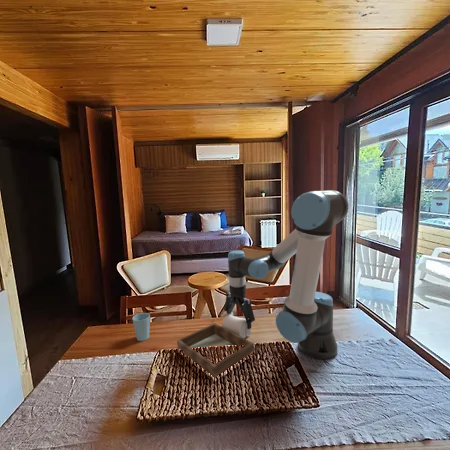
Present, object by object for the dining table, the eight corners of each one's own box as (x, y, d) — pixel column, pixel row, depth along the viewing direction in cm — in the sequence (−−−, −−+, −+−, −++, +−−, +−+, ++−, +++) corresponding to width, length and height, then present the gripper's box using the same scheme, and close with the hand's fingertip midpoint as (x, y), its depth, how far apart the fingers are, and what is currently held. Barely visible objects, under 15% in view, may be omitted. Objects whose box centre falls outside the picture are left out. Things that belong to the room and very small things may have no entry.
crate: (253, 356, 106) (253, 343, 105) (215, 381, 93) (214, 367, 92) (215, 334, 124) (214, 323, 123) (178, 353, 110) (177, 340, 110)
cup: (153, 339, 121) (151, 318, 120) (135, 344, 118) (133, 322, 117) (150, 332, 128) (148, 311, 127) (133, 336, 125) (131, 315, 124)
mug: (240, 341, 116) (239, 324, 115) (222, 335, 123) (221, 318, 122) (254, 330, 126) (254, 314, 125) (237, 324, 132) (236, 309, 131)
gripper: (262, 288, 116) (263, 336, 118) (226, 277, 133) (228, 319, 135) (250, 293, 111) (252, 343, 113) (215, 281, 128) (217, 324, 130)
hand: (239, 330), depth 124 cm, fingers closed on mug, 10 cm apart
